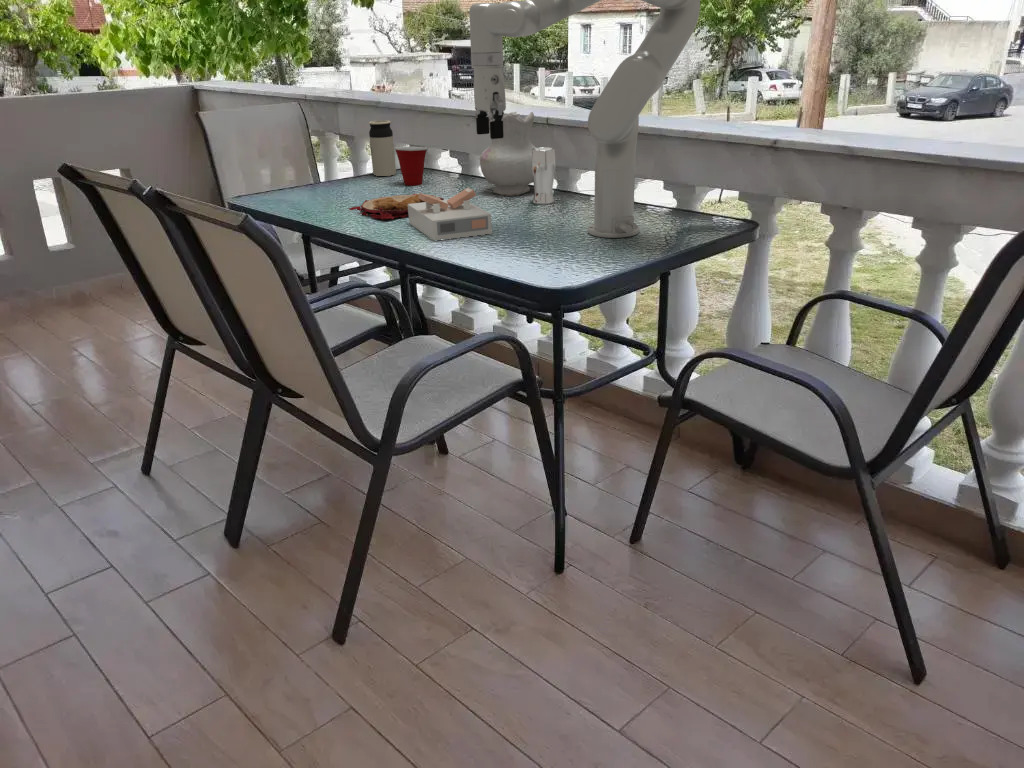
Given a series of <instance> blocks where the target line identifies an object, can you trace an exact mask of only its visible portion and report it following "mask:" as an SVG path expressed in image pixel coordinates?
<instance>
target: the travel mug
mask: <svg viewBox="0 0 1024 768" xmlns="http://www.w3.org/2000/svg"><path fill="white" fill-rule="evenodd" d="M391 123H392V121H391V120H372V121H369V122H368V124H369V127H370V129H369V132H368V134H369V143H370V144H369V145H370V155H371V165H372V174H374V175H376V176H375V177H377V176H388V177H392V176H391V175H393V176H395V175H396V174H397V169H396V168H397V167H396V158H395V149H394V148H395V146H394V134H393V130H392V127H391ZM374 175H373V176H374Z"/></svg>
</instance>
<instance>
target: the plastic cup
mask: <svg viewBox="0 0 1024 768" xmlns="http://www.w3.org/2000/svg"><path fill="white" fill-rule="evenodd" d="M427 150H428V147H425V146H396V147H395V146H394V151H395V152H396V156H397V159H398V163H399V168H400V172H401V175H402V180H403V183H404V186H411V187H413V186H421V185H422V184H423V179H424V173H425V172H424V170H425V169H424V168H425V161H426V160H425V158H426V154H427Z"/></svg>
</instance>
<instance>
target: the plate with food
mask: <svg viewBox="0 0 1024 768" xmlns="http://www.w3.org/2000/svg"><path fill="white" fill-rule="evenodd" d="M419 194H420V193H413V194H400V195H397V194H396V195H394V194H393V195H392V196H391V195H390V196H380V197H378V198H377V197H376V198H372V199H368V200H367V199H365V201H363V202H362V203H361V204H360V205H357V206H351V207H349V208H348V209H349V211H354V210H355V211H357V210H359V211H360V212H359V211H357V214H358V215H360V214H362V215H365V216H364V217H370V218H371V219H372V218H373V219H375V220H390V219H391V220H394V219H398V218H402V219H404V218H407V217H408V216H409V215H408V204H413V203H422V202H424V201H422V200H421V199H419V198H418V197H419ZM425 195H428V196H431V197H433V198H436V199H439V200H445V199H444V197H440V196H436V195H433V194H425ZM356 209H357V210H356ZM362 210H363V211H362ZM377 213H379V214H377ZM369 215H370V216H369Z"/></svg>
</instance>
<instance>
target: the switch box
mask: <svg viewBox="0 0 1024 768" xmlns="http://www.w3.org/2000/svg"><path fill="white" fill-rule="evenodd" d="M447 200H448V199H444V200H442V201H444V202H446V203H447ZM447 204H448V203H447ZM407 216H408V223H409V224H410V225H411V226H413V227H414V228H415V229H417V230H418V231H420V233H422V234H423V233H424V234H423V235H425V234H426V235H427V236H428V238H429V237H430V238H431V239H430V238H429V239H430V240H432V239H433V240H441V239H449V240H451V239H450V238H457V239H461V238H460V237H465V238H470V237H469V236H473V237H478V236H477V235H481V236H486V235H485V234H489V235H493V226H492V225H493V224H492V223H493V222H492V213H490V212H488V211H486V210H485V209H483V208H481V207H479V206H477V205H475V204H473V203H471V199H469V200H467V201H463V204H461V205H460V206H458V207H457V208H455V209H454V208H452V207H450V206H449V205H448V208H447V210H446V209H444V208H441V207H440V204H433V206H431V205H430V204H428V203H427V202H422V203H413V204H408V215H407ZM426 235H425V236H426ZM427 236H426V237H427ZM433 240H432V241H433Z"/></svg>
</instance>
